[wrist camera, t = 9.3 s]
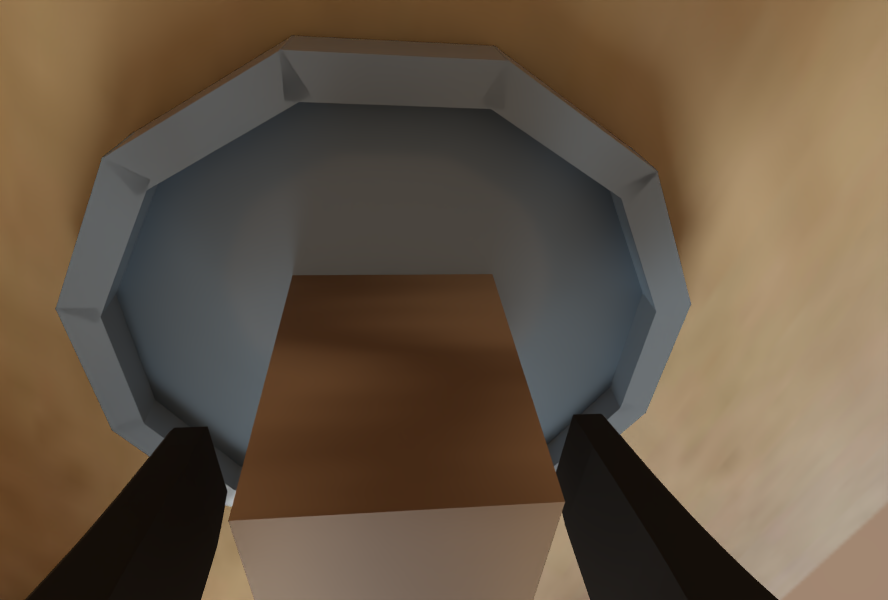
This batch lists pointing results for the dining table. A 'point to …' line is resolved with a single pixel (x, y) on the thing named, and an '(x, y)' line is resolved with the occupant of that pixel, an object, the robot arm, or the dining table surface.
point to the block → (395, 448)
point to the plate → (367, 232)
